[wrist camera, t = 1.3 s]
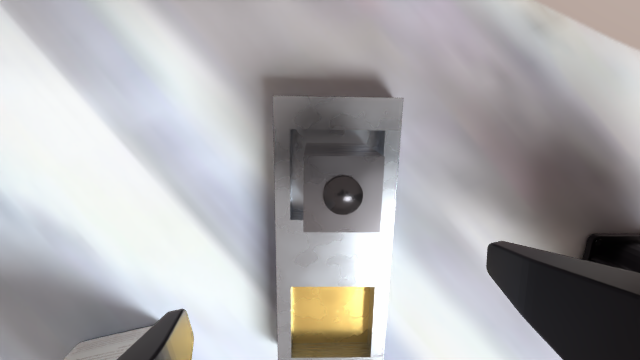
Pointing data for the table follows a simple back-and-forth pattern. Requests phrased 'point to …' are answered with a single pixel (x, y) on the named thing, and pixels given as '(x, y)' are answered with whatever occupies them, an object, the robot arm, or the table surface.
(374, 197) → the metal drawer with knob
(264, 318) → the table surface
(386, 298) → the metal tray
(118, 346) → the supplement box
